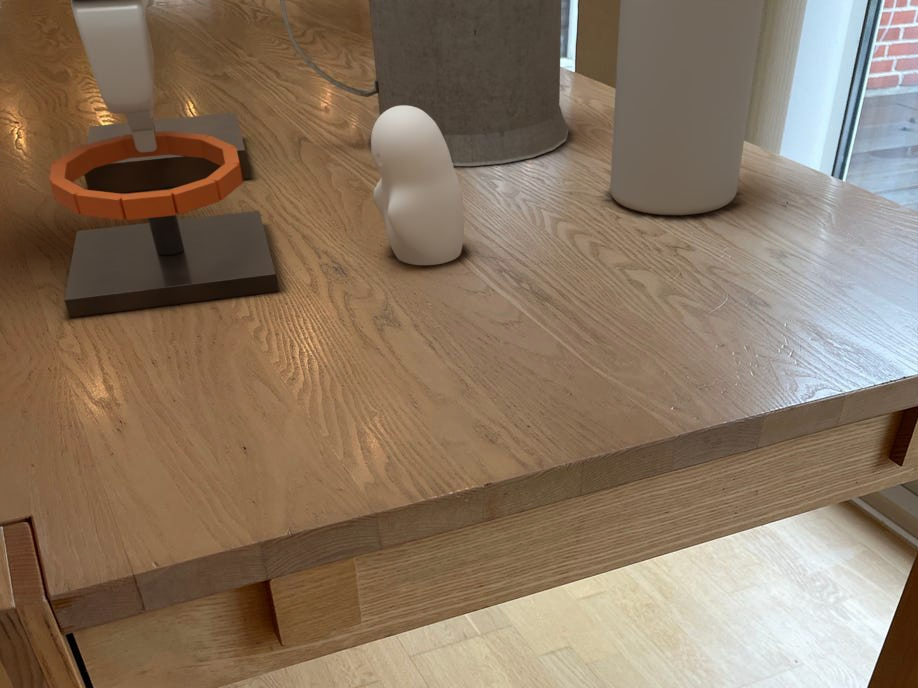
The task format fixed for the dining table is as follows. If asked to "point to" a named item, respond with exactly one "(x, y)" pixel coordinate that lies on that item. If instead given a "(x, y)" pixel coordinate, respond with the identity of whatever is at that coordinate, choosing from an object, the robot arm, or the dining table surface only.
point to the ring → (145, 202)
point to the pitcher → (470, 72)
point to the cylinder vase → (682, 102)
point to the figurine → (417, 187)
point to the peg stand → (169, 263)
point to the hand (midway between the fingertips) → (147, 146)
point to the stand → (164, 156)
